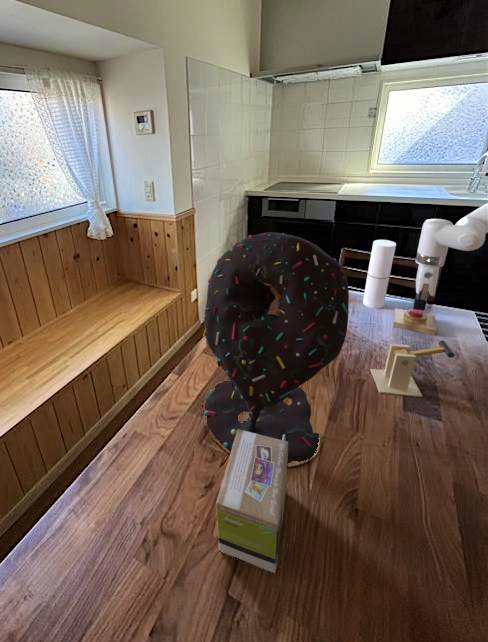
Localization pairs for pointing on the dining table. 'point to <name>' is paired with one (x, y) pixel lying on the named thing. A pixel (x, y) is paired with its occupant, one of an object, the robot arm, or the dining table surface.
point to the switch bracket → (397, 373)
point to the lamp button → (416, 313)
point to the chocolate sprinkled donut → (272, 336)
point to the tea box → (253, 499)
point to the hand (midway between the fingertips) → (418, 308)
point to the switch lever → (429, 350)
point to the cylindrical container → (379, 273)
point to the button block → (414, 322)
